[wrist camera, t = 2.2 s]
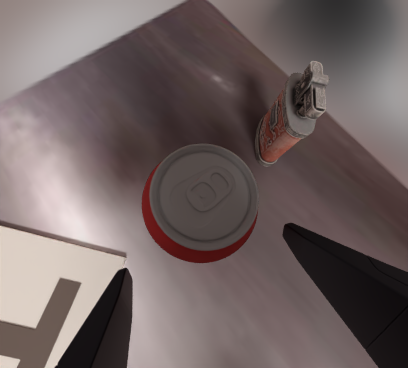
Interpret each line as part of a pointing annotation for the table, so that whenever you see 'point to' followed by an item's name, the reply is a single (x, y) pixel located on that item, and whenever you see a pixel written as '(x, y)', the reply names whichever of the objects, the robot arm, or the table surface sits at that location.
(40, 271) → the letter mat
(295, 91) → the lighter
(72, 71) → the table surface
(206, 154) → the beverage can
